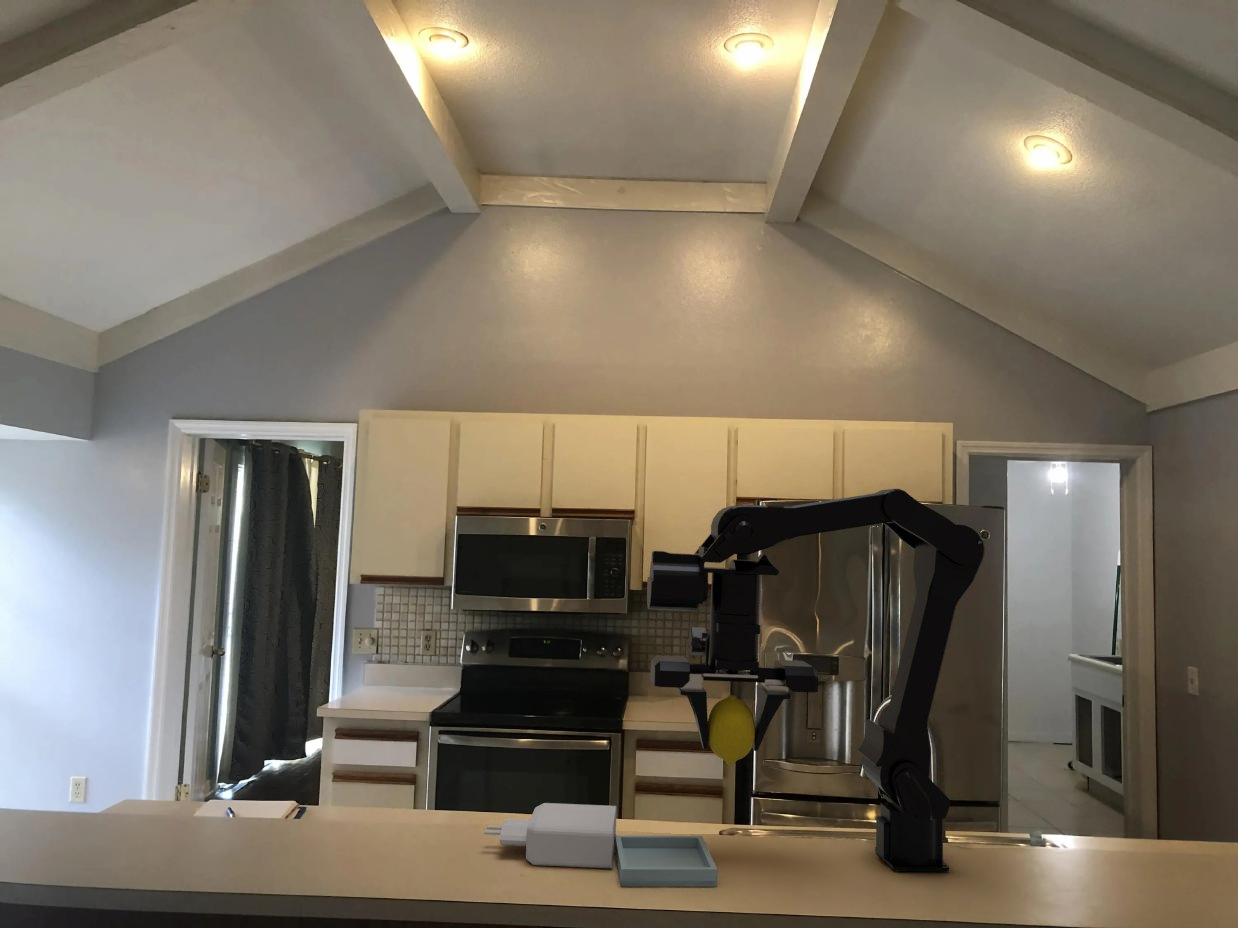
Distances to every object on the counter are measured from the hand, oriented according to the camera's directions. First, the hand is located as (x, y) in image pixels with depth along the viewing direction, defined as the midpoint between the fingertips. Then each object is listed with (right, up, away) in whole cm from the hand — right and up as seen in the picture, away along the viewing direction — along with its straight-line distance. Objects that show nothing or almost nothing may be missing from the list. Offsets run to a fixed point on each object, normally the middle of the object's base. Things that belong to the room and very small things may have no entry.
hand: (730, 749), depth 103 cm
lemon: (0, -2, 0) cm, 2 cm away
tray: (-8, -12, -4) cm, 15 cm away
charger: (-21, -12, 0) cm, 24 cm away
